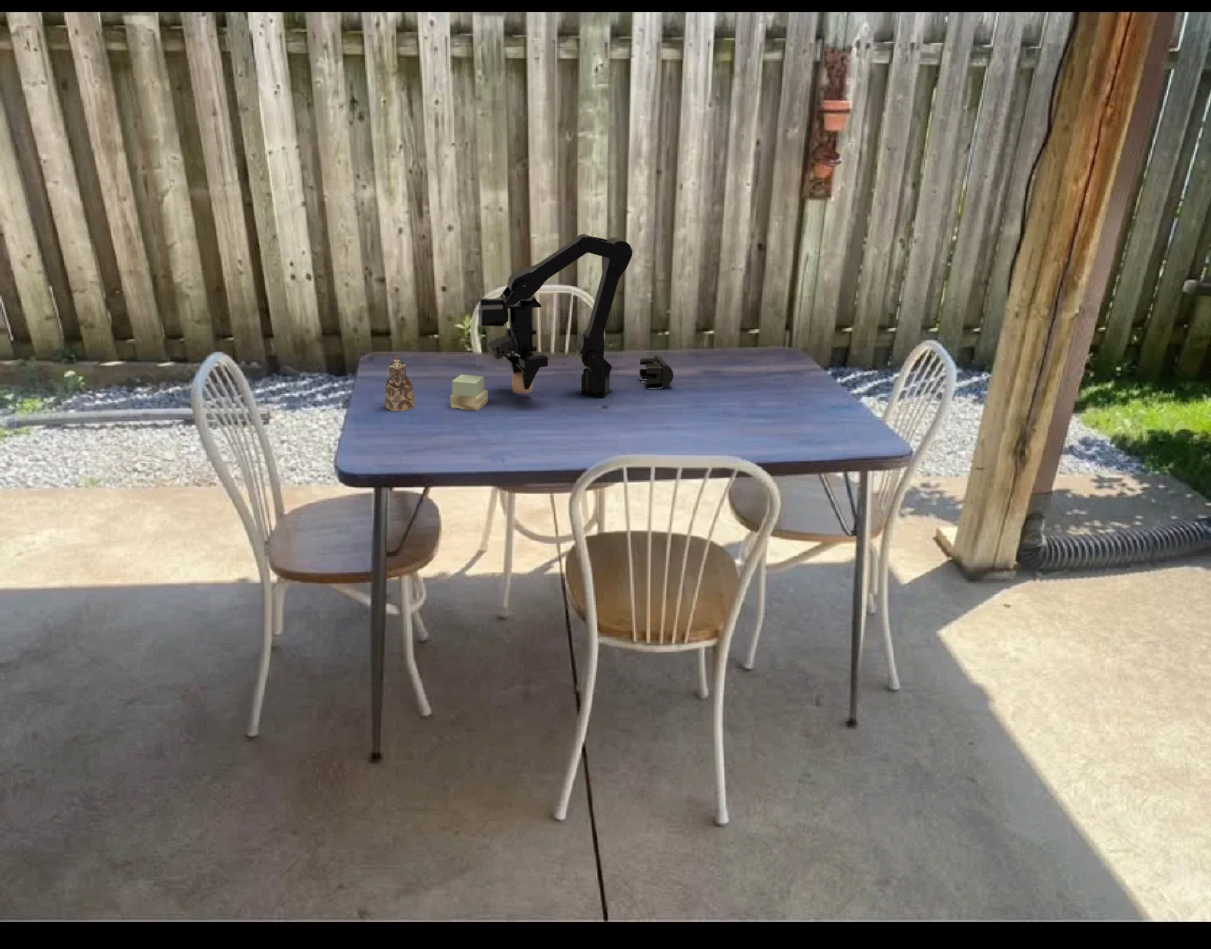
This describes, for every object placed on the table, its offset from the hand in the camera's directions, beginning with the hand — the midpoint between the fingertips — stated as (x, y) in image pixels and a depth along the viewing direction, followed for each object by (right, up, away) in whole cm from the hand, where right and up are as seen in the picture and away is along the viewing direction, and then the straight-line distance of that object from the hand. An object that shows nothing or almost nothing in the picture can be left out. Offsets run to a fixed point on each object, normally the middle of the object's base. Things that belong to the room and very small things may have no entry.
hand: (522, 386), depth 220 cm
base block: (-13, -5, -5) cm, 14 cm away
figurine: (-29, -6, -8) cm, 31 cm away
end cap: (+34, +2, +15) cm, 38 cm away
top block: (-13, -2, -6) cm, 14 cm away
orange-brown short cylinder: (0, -1, 0) cm, 1 cm away
